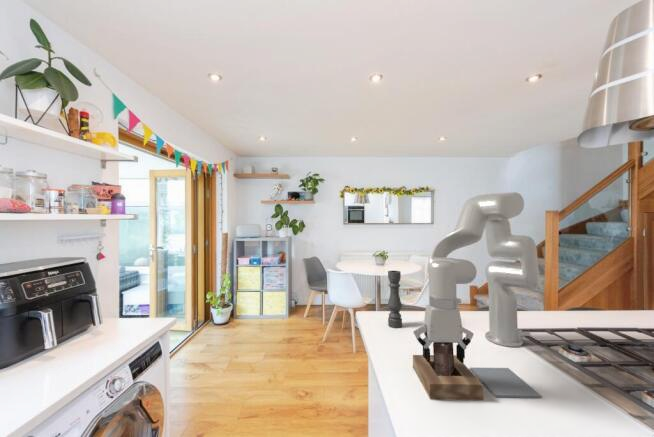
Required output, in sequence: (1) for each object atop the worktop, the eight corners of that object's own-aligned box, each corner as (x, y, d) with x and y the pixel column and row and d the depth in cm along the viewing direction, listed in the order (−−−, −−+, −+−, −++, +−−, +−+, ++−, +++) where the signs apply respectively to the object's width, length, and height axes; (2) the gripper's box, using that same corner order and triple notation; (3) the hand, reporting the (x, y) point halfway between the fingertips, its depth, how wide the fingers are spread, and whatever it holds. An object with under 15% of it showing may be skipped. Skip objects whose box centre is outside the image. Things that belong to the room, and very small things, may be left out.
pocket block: (456, 367, 87) (455, 355, 87) (483, 399, 71) (482, 384, 71) (413, 367, 88) (412, 354, 88) (430, 399, 72) (429, 384, 72)
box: (439, 374, 83) (438, 335, 83) (455, 380, 80) (454, 339, 80) (433, 383, 79) (432, 342, 79) (449, 389, 76) (448, 347, 76)
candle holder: (394, 329, 119) (393, 273, 120) (385, 324, 125) (384, 271, 125) (404, 326, 122) (403, 272, 123) (395, 322, 128) (394, 270, 128)
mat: (508, 369, 86) (508, 367, 86) (541, 398, 72) (541, 395, 72) (470, 369, 86) (470, 367, 86) (496, 397, 72) (496, 395, 72)
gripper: (465, 299, 83) (466, 354, 83) (410, 298, 84) (410, 353, 83) (478, 306, 76) (479, 367, 75) (417, 306, 76) (418, 366, 76)
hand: (443, 360), depth 79 cm, fingers open, 9 cm apart
